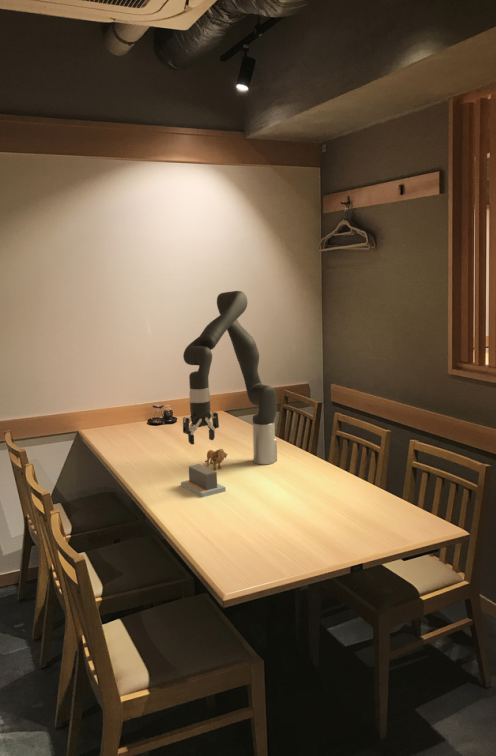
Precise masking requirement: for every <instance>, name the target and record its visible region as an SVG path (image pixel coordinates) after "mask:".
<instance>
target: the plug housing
mask: <svg viewBox="0 0 496 756" xmlns="http://www.w3.org/2000/svg"><path fill="white" fill-rule="evenodd" d="M217 473H218V472H217V470H214V469H211V468H209V467H207V466H205V465H202V464H200V463H197V464H192V465H189V466H188V480H189V482H191V483H193V484H195V485H197V486H199V487H201V488H203V489H205V490H210V489H214V488H217V483H218V474H217Z"/></svg>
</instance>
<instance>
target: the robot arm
mask: <svg viewBox="0 0 496 756" xmlns="http://www.w3.org/2000/svg"><path fill="white" fill-rule="evenodd" d="M216 306H217V310H218V313H219V315H218V316H217V317H215V318H214V319H213V320H211V321H209V323H208V324H207V325H206V326H205V328H204V329H203V330H202V332H201V334H199V336H198V337H197V338H195V339H194V340H193V341H192V342H190V343H189V344H188V345H187V346H186V347H185V349H184V351H183V355H182V356H183V361H184V362H185V363H186V365H190V366H198V370H196V371H192V372H190V373H189V377H188V379H189V412H190V416H189V417H185V416H184V417H183V418H182V433H183V434H186V435H187V437H188V443H189V444H190V445H195V435H194V433H195V432H196V431H197V430H198V428H202V427H207V428H208V439H209V440H210V441H214V439H215V431H216V429H219V428H220V425H219V423H220V421H219V413H218V412H216V411H212V412H211V395H210V394H211V393H210V385H209V375H210V369H211V365H212V361H213V353H212V351H211V350H214V349H215V347H216V346H217V344H218V343H219V342H220V341H221V338H222V336H223V335H224V334H225V333H226V332H227V333H228V336H229V338H230V341H231V344H232V347H233V351H234V354H235V356H236V359H237V361H238V365H239V368H240V371H241V374H242V377H243V381H244V385H245V388H246V395H247V398H248V401H249V402H250V403H251V404H252V405H254V406H257V407H258V413H257V414H254V415H253V416H252V444H253V445H252V446H253V448H252V449H253V450H252V451H253V463H254V464H257V465H270V464H274V463H275V462H277V461H278V445H277V444H278V440H277V439H276V435H275V434H276V433H275V432H276V431H275V429H276V428H275V419H276V415H277V400H278V399H277V392H276V390H275V388H274V387H273V386H271V385H265V384H263V383H262V381H261V379H260V374H259V371H258V369H259V368H258V367H259V362H260V353H259V352H260V351H259V349H258V346H257V343H256V341H255V339H254V337H253V336H252V335H251V334H250V333H249V332H248V331H247V330H246V329H245V328H244V326H242V325H241V323H240V322H239V320H238V318H240V316H241V315H243V314H244V313H245V311H246V310H247V307H248V298H247V295H246V294H245V293H244V292H243V291H241V290H233V291H225V292H221V293H219V294H218V295H217V297H216ZM211 419H212V422H211V421H210V420H211Z"/></svg>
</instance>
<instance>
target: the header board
mask: <svg viewBox="0 0 496 756" xmlns="http://www.w3.org/2000/svg"><path fill="white" fill-rule="evenodd" d="M180 486H181V487H183V488H185V489H187V490H189V491H190V492H192V493H194V494H196V495H198V496H199V497H202V498H204V497H208V496H212V495H215V494H219V493H224V492H226V487H225V486H223V485H221V484H220V483H218V482H217V488H214V489H210V490H205V489H203V488H201V487H199V486H197V485H195V484H193V483H191V482H189V479H187V480H183V481H180Z"/></svg>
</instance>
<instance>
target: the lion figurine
mask: <svg viewBox="0 0 496 756" xmlns="http://www.w3.org/2000/svg"><path fill="white" fill-rule="evenodd" d="M228 455H229V454H228V453H227V452H225V451H224V449H223V448H219V449H216V450H215V451H214V450H212V449H210V450H208V451H207V453H206V460H204V463H206V467H207V468H209V467H210V464H211V465H212V464H213V471H217V468H218V469H219V470H221V469H222V467H221V464H222V463H223V461H224V460H225V459H226V458H227V456H228ZM216 464H217V467H216Z"/></svg>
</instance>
